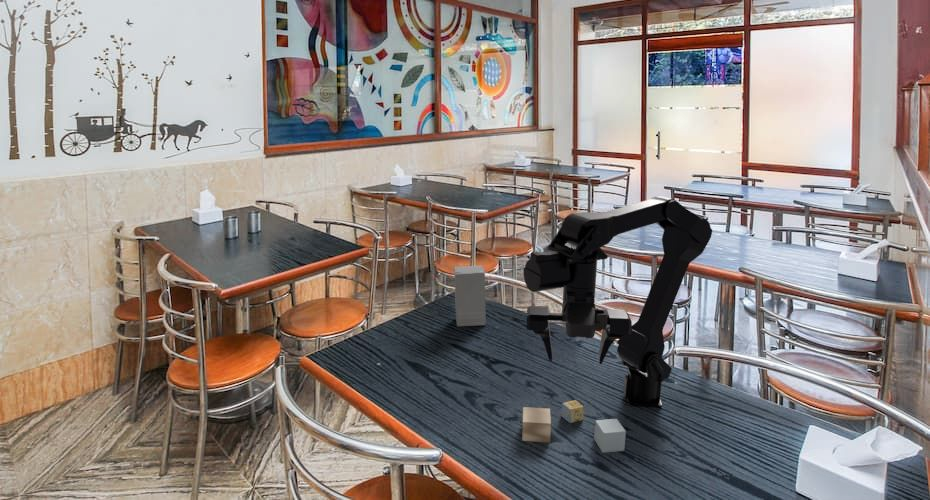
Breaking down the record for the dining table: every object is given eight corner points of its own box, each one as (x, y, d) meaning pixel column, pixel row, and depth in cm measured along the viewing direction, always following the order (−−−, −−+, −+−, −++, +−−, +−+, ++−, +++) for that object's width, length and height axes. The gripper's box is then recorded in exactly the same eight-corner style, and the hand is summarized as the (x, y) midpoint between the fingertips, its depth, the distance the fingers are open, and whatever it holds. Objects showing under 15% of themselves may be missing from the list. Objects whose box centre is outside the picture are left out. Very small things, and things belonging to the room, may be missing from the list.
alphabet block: (560, 416, 108) (561, 402, 107) (574, 412, 109) (575, 399, 108) (569, 424, 105) (570, 410, 104) (583, 420, 106) (584, 406, 106)
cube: (615, 437, 101) (616, 418, 100) (624, 451, 97) (625, 431, 96) (594, 439, 100) (595, 420, 99) (602, 453, 97) (604, 433, 96)
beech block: (549, 427, 104) (549, 408, 103) (550, 443, 100) (550, 423, 98) (522, 425, 105) (523, 407, 104) (522, 441, 100) (522, 421, 99)
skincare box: (484, 317, 157) (484, 264, 152) (486, 327, 150) (486, 272, 146) (454, 317, 156) (454, 264, 152) (454, 327, 149) (454, 272, 145)
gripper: (527, 296, 93) (524, 379, 97) (640, 301, 91) (633, 386, 95) (528, 276, 104) (525, 352, 108) (629, 280, 102) (623, 357, 106)
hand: (575, 361), depth 104 cm, fingers open, 9 cm apart
